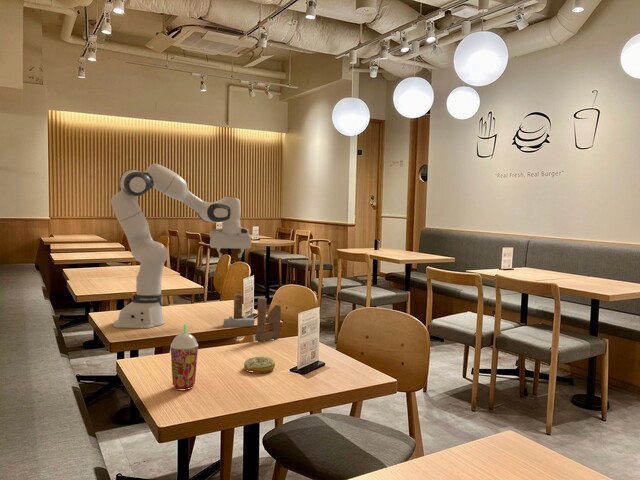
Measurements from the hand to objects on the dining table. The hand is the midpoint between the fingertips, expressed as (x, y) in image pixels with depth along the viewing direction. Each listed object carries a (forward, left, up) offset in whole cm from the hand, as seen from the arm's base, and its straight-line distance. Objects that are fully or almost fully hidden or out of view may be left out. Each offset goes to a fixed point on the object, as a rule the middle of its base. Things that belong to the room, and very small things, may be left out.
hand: (230, 257), depth 263 cm
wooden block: (+12, -42, -31) cm, 53 cm away
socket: (+3, -13, -31) cm, 33 cm away
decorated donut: (+2, -82, -31) cm, 88 cm away
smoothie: (-24, -96, -31) cm, 104 cm away
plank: (+3, -11, -31) cm, 33 cm away
